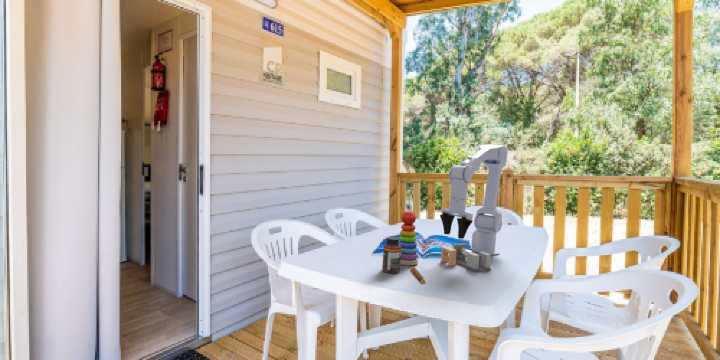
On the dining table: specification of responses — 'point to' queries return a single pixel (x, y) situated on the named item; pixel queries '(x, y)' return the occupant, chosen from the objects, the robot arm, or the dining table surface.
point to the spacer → (451, 253)
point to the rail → (464, 262)
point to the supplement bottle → (392, 255)
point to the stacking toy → (408, 240)
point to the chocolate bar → (417, 275)
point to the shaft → (462, 250)
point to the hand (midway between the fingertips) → (453, 236)
